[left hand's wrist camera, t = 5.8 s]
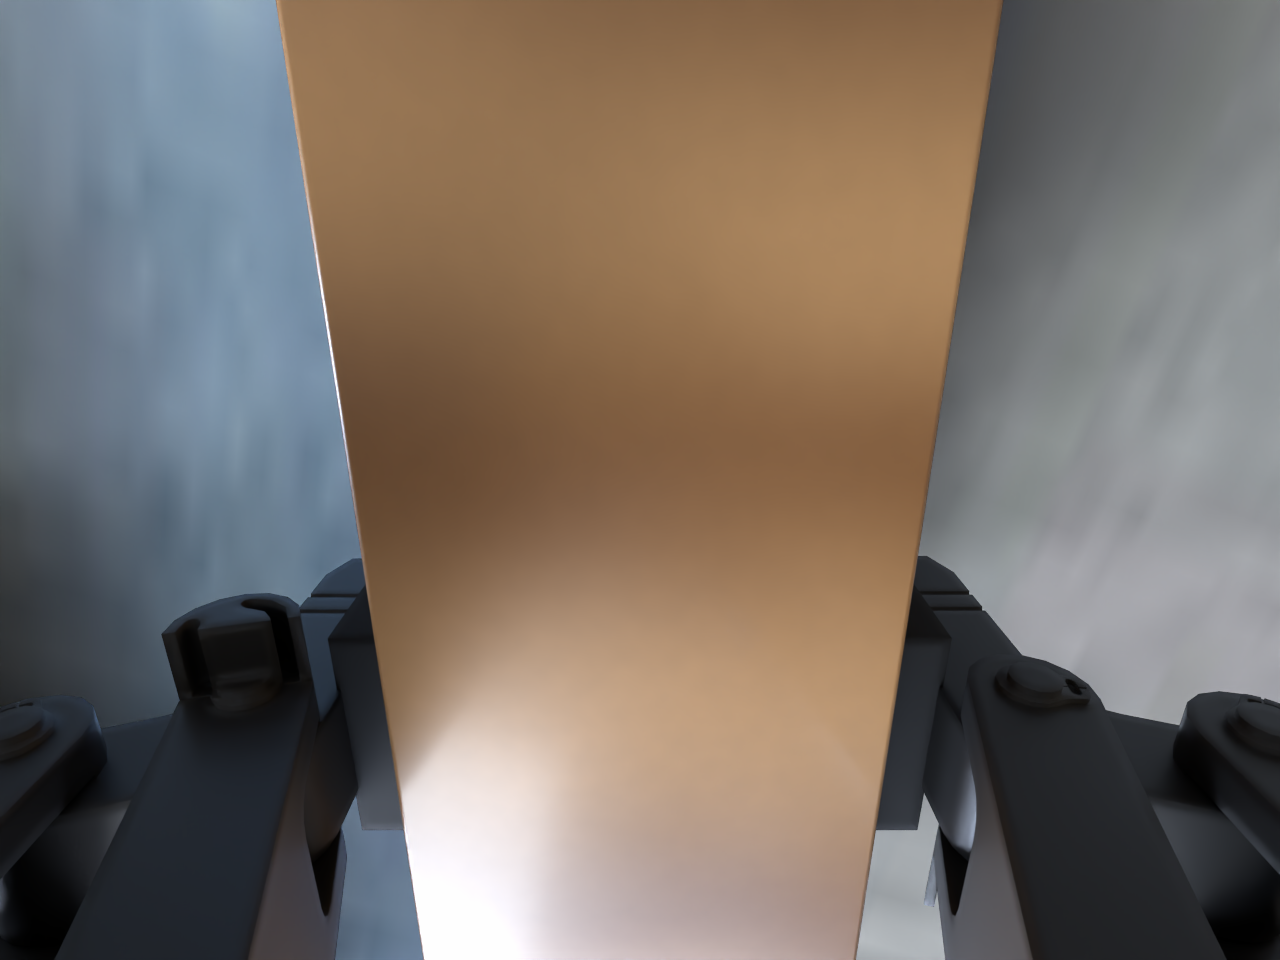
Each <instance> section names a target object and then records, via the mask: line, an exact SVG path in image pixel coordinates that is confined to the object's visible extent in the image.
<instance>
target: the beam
mask: <svg viewBox="0 0 1280 960" xmlns="http://www.w3.org/2000/svg"><path fill="white" fill-rule="evenodd" d="M276 5H277V12H278V18H279V25H280V31H281V38H282V44H283V51H284V57H285V64H286V70H287V76H288V83H289V89H290V96H291V102H292V109H293V115H294V122H295V128H296V135H297V141H298V148H299V154H300V161H301V167H302V174H303V180H304V187H305V193H306V200H307V206H308V213H309V219H310V226H311V232H312V239H313V245H314V252H315V258H316V265H317V271H318V277H319V284H320V290H321V297H322V303H323V310H324V316H325V323H326V329H327V336H328V342H329V349H330V355H331V362H332V368H333V375H334V381H335V388H336V394H337V401H338V407H339V414H340V420H341V427H342V433H343V440H344V446H345V453H346V459H347V466H348V472H349V479H350V485H351V491H352V498H353V504H354V511H355V517H356V524H357V530H358V537H359V543H360V550H361V556H362V563H363V569H364V576H365V582H366V589H367V595H368V602H369V608H370V615H371V621H372V628H373V634H374V641H375V647H376V654H377V660H378V667H379V673H380V680H381V686H382V692H383V699H384V705H385V712H386V718H387V725H388V731H389V738H390V744H391V751H392V757H393V764H394V770H395V777H396V783H397V790H398V796H399V803H400V809H401V816H402V822H403V829H404V835H405V842H406V848H407V855H408V861H409V868H410V874H411V881H412V887H413V894H414V900H415V906H416V913H417V919H418V926H419V932H420V939H421V945H422V952H423V958H424V960H856V955H857V948H858V942H859V935H860V929H861V922H862V916H863V909H864V903H865V896H866V890H867V883H868V877H869V870H870V864H871V857H872V851H873V844H874V838H875V831H876V825H877V818H878V812H879V805H880V799H881V792H882V786H883V779H884V773H885V766H886V760H887V753H888V747H889V740H890V734H891V727H892V721H893V714H894V708H895V701H896V695H897V688H898V682H899V675H900V669H901V662H902V656H903V649H904V643H905V636H906V630H907V623H908V617H909V610H910V604H911V597H912V591H913V584H914V578H915V571H916V565H917V558H918V552H919V545H920V539H921V532H922V526H923V519H924V513H925V506H926V500H927V493H928V487H929V480H930V474H931V467H932V461H933V454H934V448H935V441H936V435H937V428H938V422H939V415H940V409H941V402H942V396H943V389H944V383H945V376H946V370H947V363H948V357H949V350H950V344H951V337H952V331H953V324H954V318H955V311H956V305H957V298H958V292H959V285H960V279H961V272H962V266H963V259H964V253H965V246H966V240H967V233H968V227H969V220H970V214H971V207H972V201H973V194H974V188H975V181H976V175H977V168H978V162H979V155H980V149H981V142H982V136H983V129H984V123H985V116H986V110H987V103H988V97H989V90H990V84H991V77H992V71H993V64H994V58H995V51H996V45H997V38H998V32H999V25H1000V19H1001V12H1002V6H1003V0H276Z"/></svg>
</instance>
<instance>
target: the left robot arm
mask: <svg viewBox="0 0 1280 960" xmlns="http://www.w3.org/2000/svg"><path fill="white" fill-rule="evenodd" d="M161 635H162V638H163V642H164V645H165V649H166V653H167V656H168V660H169V663H170V667H171V671H172V674H173V678H174V681H175V685H176V689H177V692H178V696H179V700H180V701H179V703H178V705H177V707H176V709H175V711H174V713H173V714H170V715H166V716H162V717H158V718H153V719H148V720H143V721H138V722H133V723H128V724H123V725H118V726H113V727H107V728H102V729H101V728H100V725H99V722H98V719H97V716H96V713H95V710H94V707H93V705H92V704H90V703H89V702H87V701H86V700H85V699H83V698H82V697H75V696H67V695H55V696H47V697H39V698H31V699H26V700H22V701H20V702H19V703H16V702H14V703H11V704H8V705H5V706H2V707H0V960H335V954H336V945H337V937H338V929H339V920H340V912H341V903H342V895H343V886H344V878H345V869H346V861H347V854H346V848H345V841H344V836H343V831H342V823H343V821H344V819H345V817H346V815H347V813H348V811H349V809H350V806H351V804H352V802H353V800H354V798H355V796H356V798H357V804H358V809H359V815H360V820H361V826H362V830H404V829H403V822H402V816H401V809H400V803H399V796H398V790H397V783H396V777H395V770H394V764H393V757H392V751H391V744H390V738H389V731H388V725H387V718H386V712H385V705H384V699H383V692H382V686H381V680H380V673H379V667H378V660H377V654H376V647H375V641H374V634H373V628H372V621H371V615H370V608H369V602H368V595H367V589H366V582H365V576H364V569H363V563H362V559H351V560H350V561H348V562H347V563H345V564H343V565H342V566H340V567H338V568H337V569H335V570H333V571H332V572H330V573H328V574H327V575H326V576H325V577H324V578H323V579H322V581H321V582H320V583H319V584H318V586H317V587H316V588H315V589H314V590H313V592H312V593H311V597H308V598H307V599H306V600H305V601H304V603H303V604H302V605H301V606H300V608H299V605H298V604H297V603H295V602H294V601H292V600H291V599H290V598H288V597H285V596H280V595H275V594H270V593H265V594H244V595H239V596H234V597H229V598H224V599H220V600H217V601H214V602H212V603H209V604H206V605H203V606H201V607H198V608H195V609H194V610H192V611H190V612H188V613H187V614H185V615H183V616H182V617H180V618H178V619H176V620H175V621H174V622H173V623H172V624H171V625H170V626H169V627H168V628H167V629H166V630H165V631H164V632H163V633H162V634H161ZM924 793H925V795H926V797H927V799H928V802H929V804H930V806H931V808H932V810H933V812H934V814H935V816H936V818H937V821H938V823H939V826H938V831H937V836H936V841H935V846H934V852H933V857H932V862H931V867H930V872H929V877H928V882H927V888H926V894H925V900H924V905H928V906H933V907H934V904H935V899H936V894H937V893H938V901H939V910H940V918H941V927H942V935H943V943H944V952H945V960H1280V703H1277V702H1274V701H1271V700H1268V699H1264V700H1263V699H1261V697H1257V696H1252V695H1248V694H1237V693H1229V692H1221V691H1218V692H1210V693H1202V694H1198V695H1197V696H1195V697H1194V698H1192V699H1191V700H1190V701H1188V702H1187V705H1186V708H1185V711H1184V714H1183V717H1182V720H1181V723H1180V726H1179V725H1174V724H1169V723H1164V722H1159V721H1154V720H1149V719H1144V718H1139V717H1134V716H1128V715H1123V714H1119V713H1115V712H1111V711H1107V710H1105V708H1104V706H1103V704H1102V702H1101V699H1100V698H1099V697H1098V696H1097V694H1096V693H1095V692H1094V691H1093V689H1092V688H1091V687H1090V686H1089V684H1087V683H1086V682H1084V681H1083V680H1081V679H1080V678H1078V677H1077V676H1075V675H1074V674H1073V673H1071V672H1070V671H1068V670H1065V669H1063V668H1061V667H1058V666H1056V665H1054V664H1051V663H1049V662H1047V661H1044V660H1039V659H1035V658H1031V657H1027V656H1022V655H1021V653H1020V652H1019V651H1018V650H1017V649H1016V647H1015V646H1014V645H1013V644H1012V643H1011V641H1010V640H1009V639H1008V638H1007V636H1006V635H1005V634H1004V633H1003V632H1002V630H1001V629H1000V628H999V627H998V626H997V624H996V623H995V622H994V621H993V619H992V618H991V617H990V616H989V615H988V613H987V612H986V611H982V606H981V605H980V604H979V602H978V601H977V600H976V599H975V598H974V596H973V595H969V590H968V589H967V588H966V587H965V586H964V584H963V583H962V582H961V581H960V579H959V578H958V577H957V576H956V575H955V573H954V572H952V571H951V570H949V569H947V568H946V567H944V566H942V565H941V564H939V563H937V562H936V561H934V560H932V559H931V558H929V557H927V556H918V558H917V565H916V571H915V578H914V584H913V591H912V597H911V604H910V610H909V617H908V623H907V630H906V636H905V643H904V649H903V656H902V662H901V669H900V675H899V682H898V688H897V695H896V701H895V708H894V714H893V721H892V727H891V734H890V740H889V747H888V753H887V760H886V766H885V773H884V779H883V786H882V792H881V799H880V805H879V812H878V818H877V825H876V830H917V829H918V823H919V817H920V812H921V806H922V801H923V795H924Z"/></svg>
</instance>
